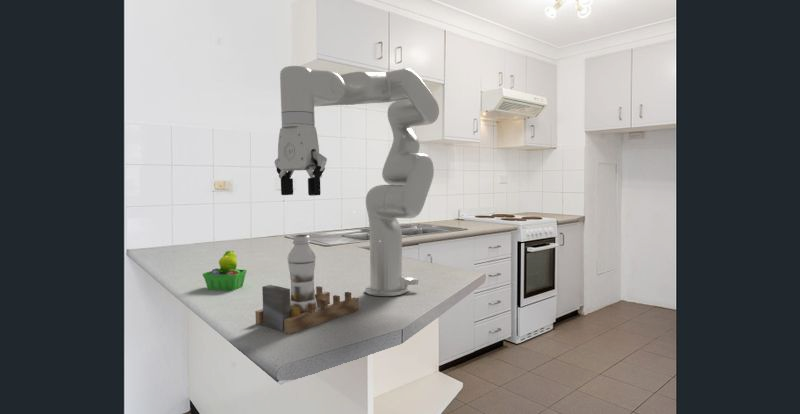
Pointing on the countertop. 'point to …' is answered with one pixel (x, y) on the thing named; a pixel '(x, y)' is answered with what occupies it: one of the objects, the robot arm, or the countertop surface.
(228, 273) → the fruit basket
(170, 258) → the countertop surface
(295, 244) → the grey bulging hollow cylinder
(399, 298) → the countertop surface
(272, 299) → the wooden peg rack
